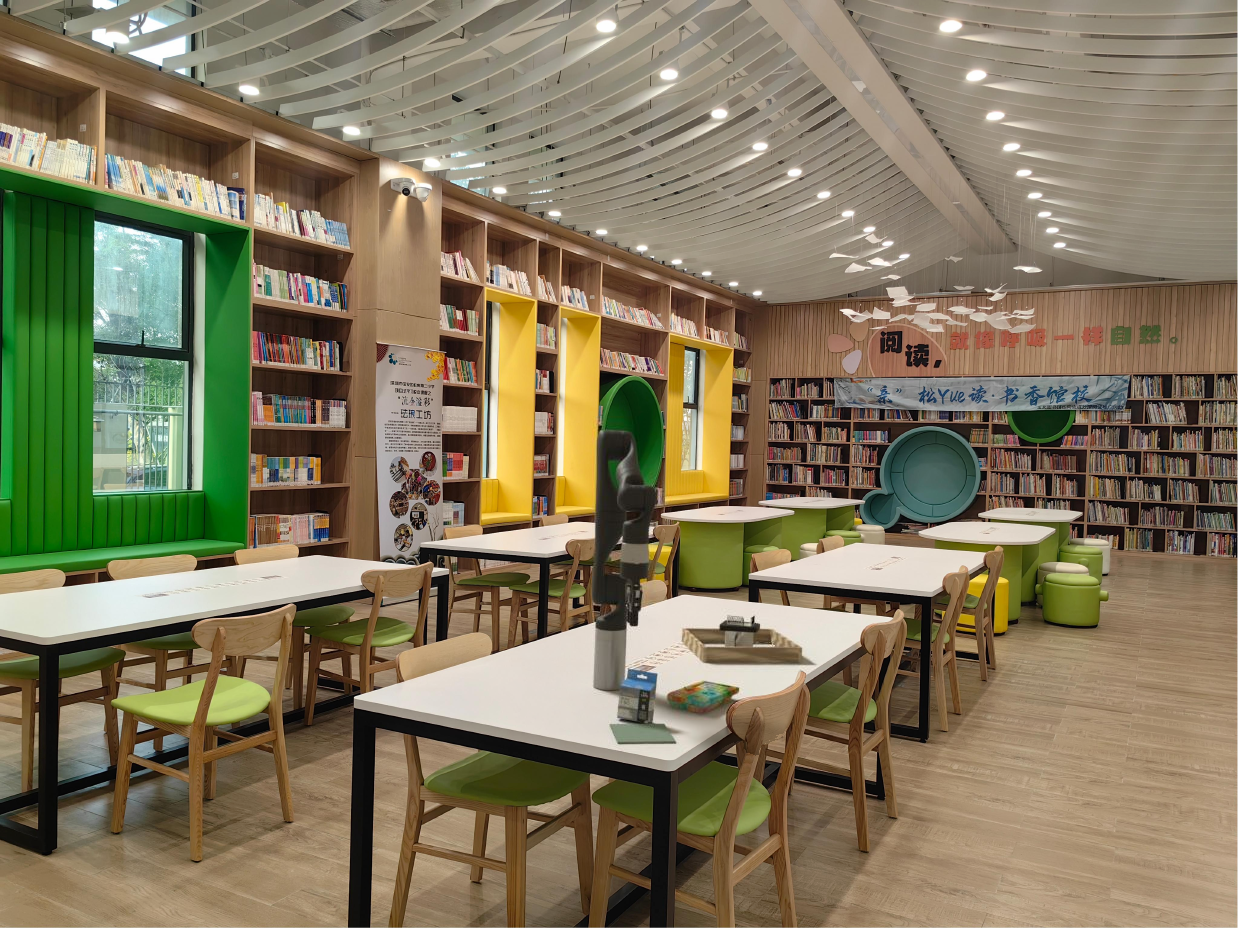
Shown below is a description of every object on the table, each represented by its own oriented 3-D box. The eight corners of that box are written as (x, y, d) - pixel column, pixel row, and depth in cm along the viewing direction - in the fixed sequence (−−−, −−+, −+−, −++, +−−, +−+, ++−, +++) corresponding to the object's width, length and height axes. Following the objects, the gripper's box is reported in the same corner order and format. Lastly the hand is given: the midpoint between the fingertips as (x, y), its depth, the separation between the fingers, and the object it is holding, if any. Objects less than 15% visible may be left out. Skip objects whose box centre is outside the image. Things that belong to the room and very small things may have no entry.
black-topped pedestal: (691, 656, 311) (692, 617, 310) (708, 641, 336) (709, 606, 335) (772, 664, 302) (774, 625, 302) (784, 649, 327) (785, 613, 326)
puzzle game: (667, 690, 245) (702, 677, 261) (666, 708, 245) (702, 693, 261) (705, 698, 238) (739, 684, 255) (704, 716, 238) (738, 700, 255)
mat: (609, 725, 226) (609, 723, 226) (664, 724, 228) (664, 723, 228) (617, 743, 212) (617, 741, 212) (675, 742, 215) (675, 741, 215)
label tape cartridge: (616, 717, 231) (620, 669, 232) (622, 716, 235) (627, 668, 236) (647, 723, 227) (651, 674, 228) (653, 722, 230) (658, 673, 232)
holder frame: (681, 641, 332) (682, 628, 332) (771, 642, 337) (772, 628, 337) (702, 662, 300) (703, 647, 300) (801, 662, 305) (802, 647, 305)
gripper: (616, 556, 246) (614, 619, 246) (624, 563, 232) (622, 629, 232) (643, 557, 247) (641, 619, 247) (653, 563, 233) (651, 629, 233)
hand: (632, 624), depth 239 cm, fingers open, 3 cm apart
